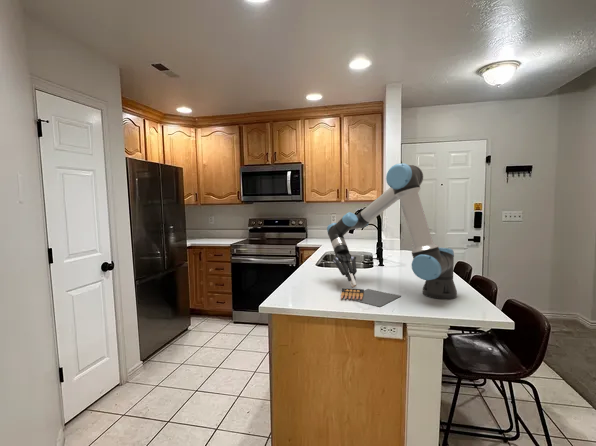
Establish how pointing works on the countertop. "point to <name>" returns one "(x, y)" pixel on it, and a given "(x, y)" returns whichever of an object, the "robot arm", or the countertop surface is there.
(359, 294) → the ammunition clip
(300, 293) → the countertop surface
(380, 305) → the rubber mat
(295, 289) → the countertop surface
